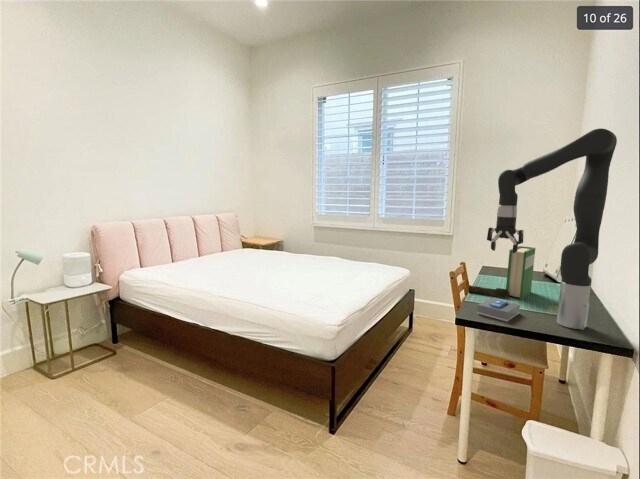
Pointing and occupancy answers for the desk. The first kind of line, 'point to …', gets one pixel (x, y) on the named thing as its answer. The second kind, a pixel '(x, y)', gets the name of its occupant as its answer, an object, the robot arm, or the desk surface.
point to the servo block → (499, 303)
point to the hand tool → (490, 291)
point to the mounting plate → (498, 310)
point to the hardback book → (520, 271)
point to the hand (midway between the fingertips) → (503, 251)
